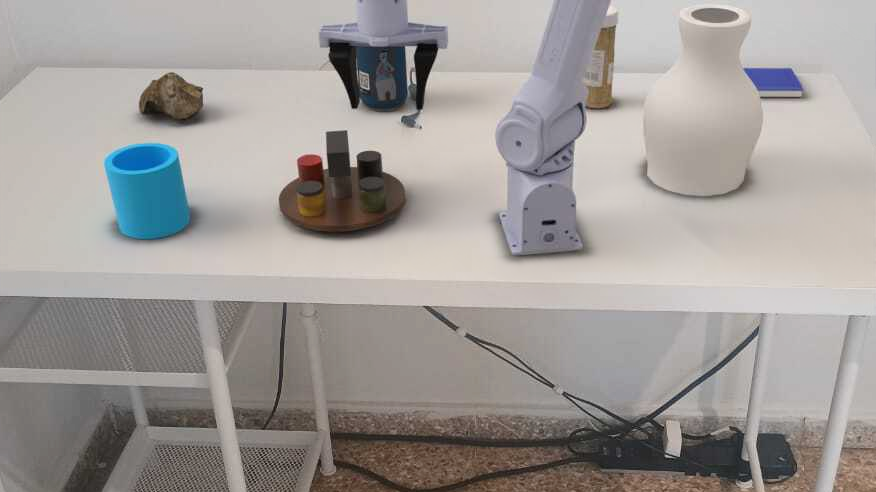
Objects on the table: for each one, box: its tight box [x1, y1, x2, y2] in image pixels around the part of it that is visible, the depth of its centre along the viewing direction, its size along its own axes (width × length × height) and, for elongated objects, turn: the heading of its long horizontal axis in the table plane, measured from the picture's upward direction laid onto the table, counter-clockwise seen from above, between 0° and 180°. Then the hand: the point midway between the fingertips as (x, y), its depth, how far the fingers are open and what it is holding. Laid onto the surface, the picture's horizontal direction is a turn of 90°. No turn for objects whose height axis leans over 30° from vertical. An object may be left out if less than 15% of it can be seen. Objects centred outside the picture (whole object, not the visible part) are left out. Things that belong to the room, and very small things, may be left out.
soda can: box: [356, 46, 409, 112], centre depth 146 cm, size 7×7×12 cm
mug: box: [103, 142, 191, 240], centre depth 121 cm, size 12×8×8 cm
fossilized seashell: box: [138, 71, 204, 122], centre depth 146 cm, size 8×7×10 cm
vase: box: [642, 3, 764, 197], centre depth 124 cm, size 14×14×20 cm
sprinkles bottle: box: [582, 5, 619, 109], centre depth 144 cm, size 5×5×14 cm
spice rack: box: [278, 129, 407, 233], centre depth 121 cm, size 15×15×8 cm
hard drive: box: [743, 67, 804, 98], centre depth 152 cm, size 2×8×12 cm
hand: (387, 106), depth 122 cm, fingers open, 7 cm apart
